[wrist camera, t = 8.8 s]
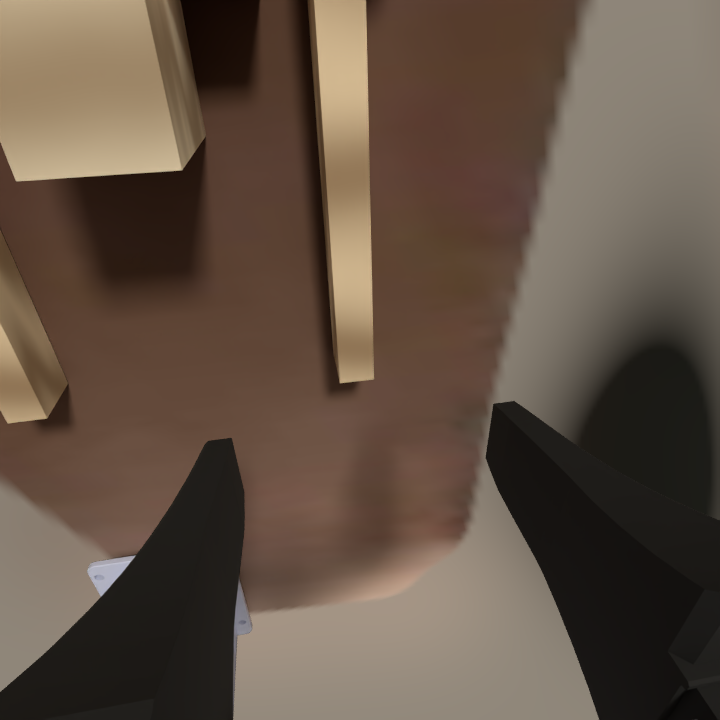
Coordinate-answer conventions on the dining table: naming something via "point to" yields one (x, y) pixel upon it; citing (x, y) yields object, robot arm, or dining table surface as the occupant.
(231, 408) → the dining table surface
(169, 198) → the dining table surface
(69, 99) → the two-tone t block
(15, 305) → the slot rails
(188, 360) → the dining table surface
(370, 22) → the dining table surface
